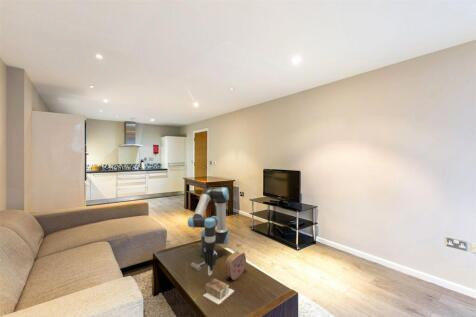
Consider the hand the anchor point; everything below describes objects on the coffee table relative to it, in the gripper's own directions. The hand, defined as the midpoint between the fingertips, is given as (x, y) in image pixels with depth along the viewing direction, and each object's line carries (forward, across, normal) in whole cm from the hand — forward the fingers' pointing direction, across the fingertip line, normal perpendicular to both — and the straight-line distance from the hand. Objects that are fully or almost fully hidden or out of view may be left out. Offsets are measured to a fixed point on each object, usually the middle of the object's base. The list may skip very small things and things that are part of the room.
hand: (210, 274), depth 144 cm
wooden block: (+7, 0, 0) cm, 7 cm away
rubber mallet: (+11, -27, +26) cm, 39 cm away
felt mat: (+11, +8, 0) cm, 13 cm away
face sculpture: (+11, +4, +24) cm, 27 cm away
